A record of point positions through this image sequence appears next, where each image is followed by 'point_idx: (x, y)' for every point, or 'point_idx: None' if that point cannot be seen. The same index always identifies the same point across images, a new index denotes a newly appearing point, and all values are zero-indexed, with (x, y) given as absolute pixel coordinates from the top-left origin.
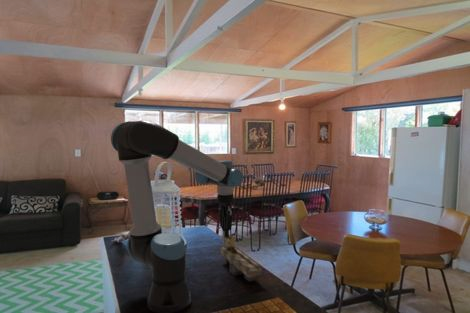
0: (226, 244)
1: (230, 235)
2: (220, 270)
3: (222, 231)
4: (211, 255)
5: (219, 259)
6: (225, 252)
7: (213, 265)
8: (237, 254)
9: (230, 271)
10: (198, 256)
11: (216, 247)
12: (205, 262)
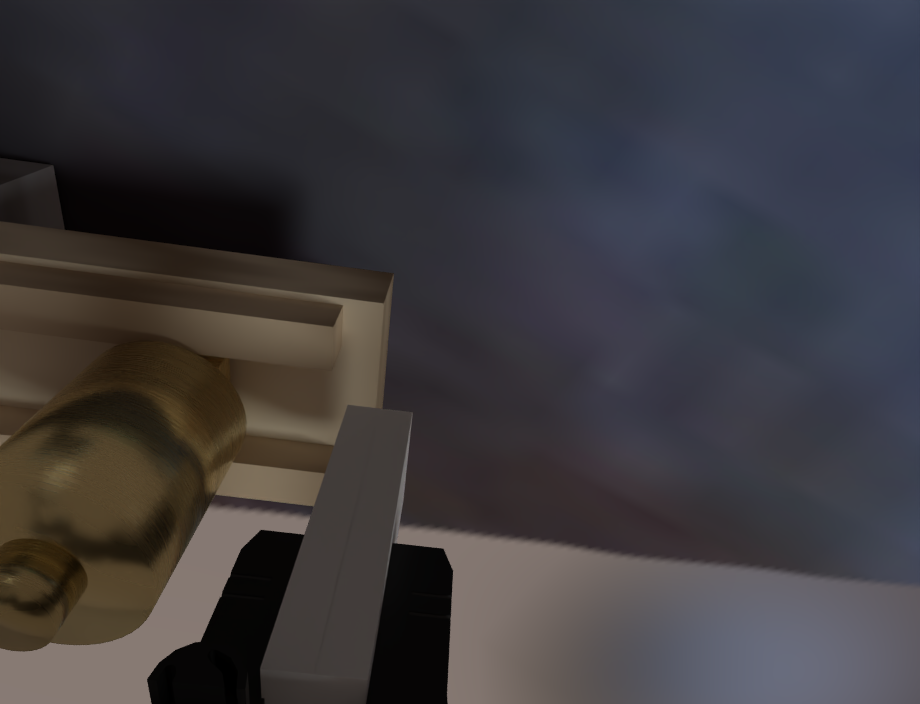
0: (110, 392)
1: (18, 625)
2: (146, 79)
3: (366, 630)
4: (716, 249)
5: (513, 267)
6: (151, 286)
7: (362, 82)
8: (32, 402)
9: (14, 163)
10: (839, 53)
11: (905, 439)
12: (538, 29)
